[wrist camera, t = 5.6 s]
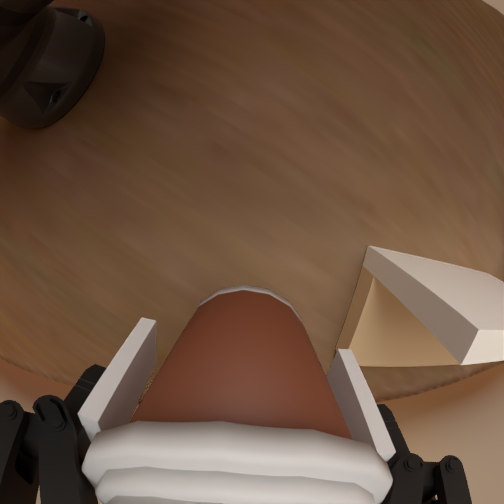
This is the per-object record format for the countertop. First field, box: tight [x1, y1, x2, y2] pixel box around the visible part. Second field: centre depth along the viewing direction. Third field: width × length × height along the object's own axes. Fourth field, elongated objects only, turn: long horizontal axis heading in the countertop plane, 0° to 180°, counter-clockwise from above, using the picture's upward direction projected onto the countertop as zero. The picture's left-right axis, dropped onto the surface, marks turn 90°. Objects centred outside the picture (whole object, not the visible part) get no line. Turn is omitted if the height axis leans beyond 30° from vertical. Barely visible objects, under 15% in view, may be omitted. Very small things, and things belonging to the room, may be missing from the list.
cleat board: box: [335, 245, 504, 367], centre depth 18 cm, size 12×19×16 cm, turn 80°
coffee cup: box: [82, 285, 393, 504], centre depth 9 cm, size 9×9×12 cm
